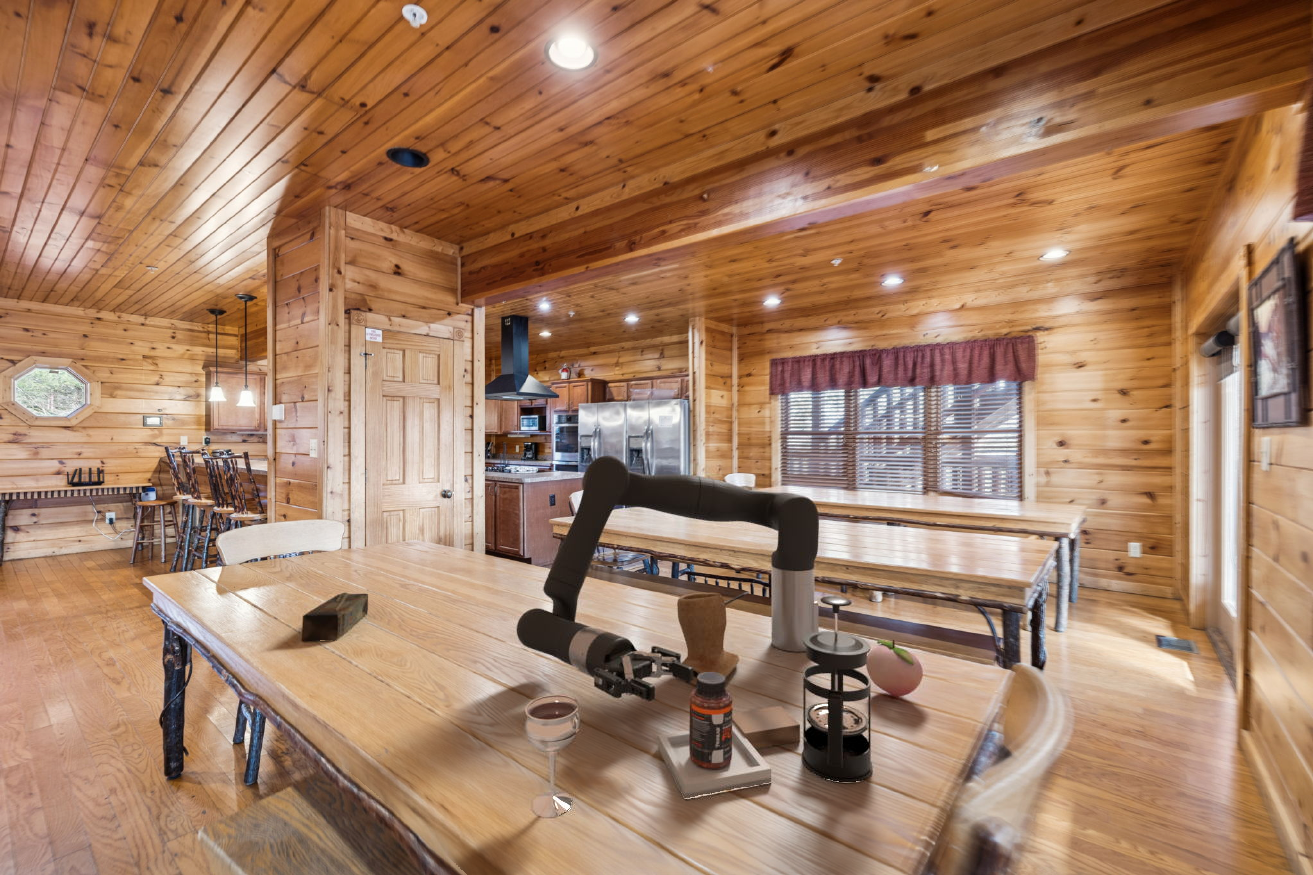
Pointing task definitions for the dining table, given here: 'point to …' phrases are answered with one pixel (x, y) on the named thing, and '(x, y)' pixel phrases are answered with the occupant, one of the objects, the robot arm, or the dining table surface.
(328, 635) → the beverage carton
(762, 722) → the brown block
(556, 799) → the wineglass
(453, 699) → the dining table surface
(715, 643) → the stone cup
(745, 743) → the tray
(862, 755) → the french press
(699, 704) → the supplement bottle
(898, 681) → the decorative fruit
